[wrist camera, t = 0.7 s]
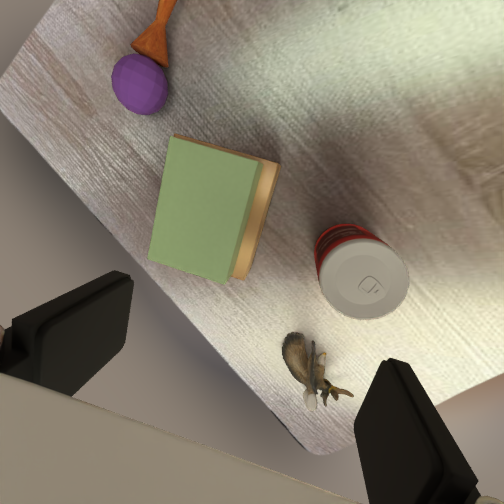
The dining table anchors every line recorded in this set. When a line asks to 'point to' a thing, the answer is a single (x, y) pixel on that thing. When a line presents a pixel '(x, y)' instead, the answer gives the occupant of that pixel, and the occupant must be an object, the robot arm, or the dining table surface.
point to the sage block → (203, 209)
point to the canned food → (359, 272)
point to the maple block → (257, 209)
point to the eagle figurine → (308, 371)
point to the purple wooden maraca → (145, 67)
